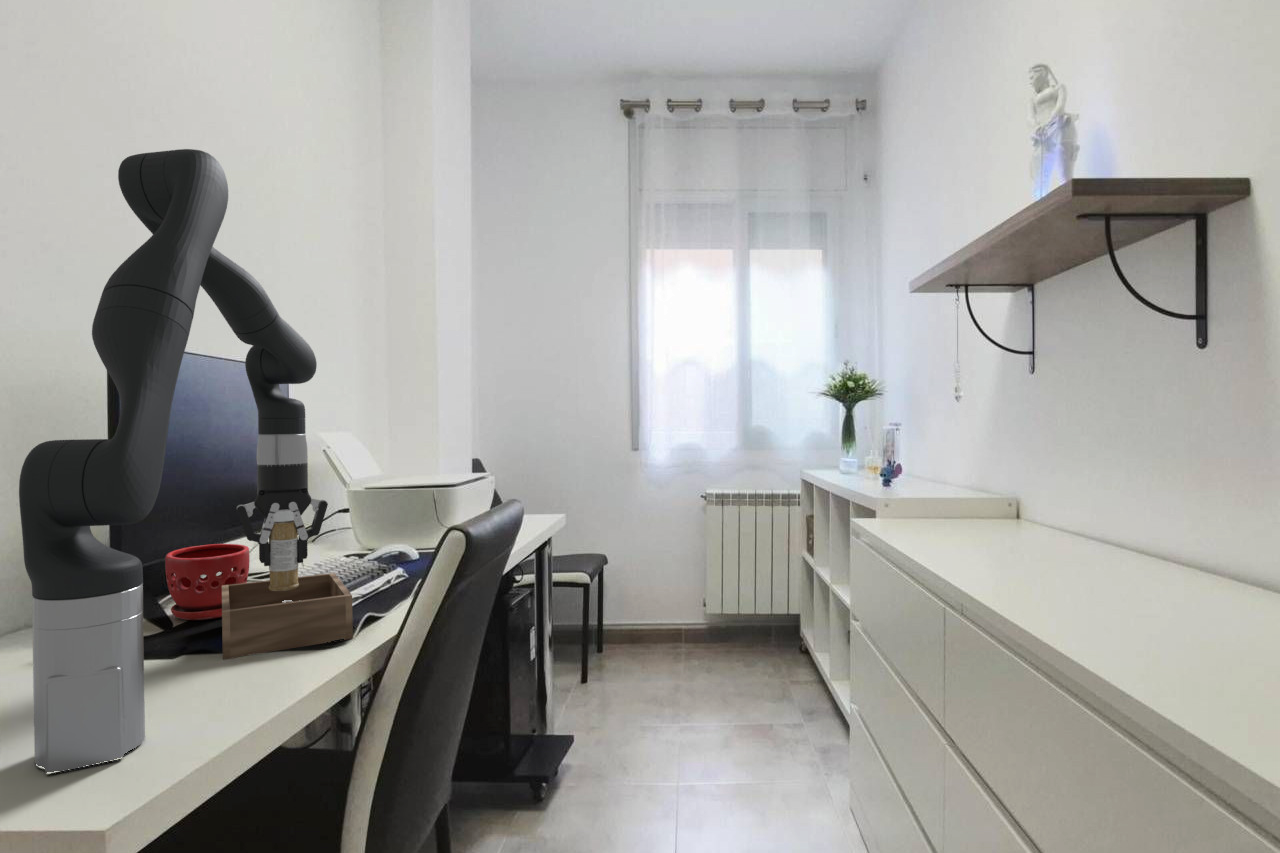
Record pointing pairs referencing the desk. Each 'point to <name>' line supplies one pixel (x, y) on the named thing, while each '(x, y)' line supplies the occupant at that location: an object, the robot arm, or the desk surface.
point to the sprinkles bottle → (283, 552)
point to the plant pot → (204, 594)
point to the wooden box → (284, 615)
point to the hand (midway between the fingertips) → (283, 563)
